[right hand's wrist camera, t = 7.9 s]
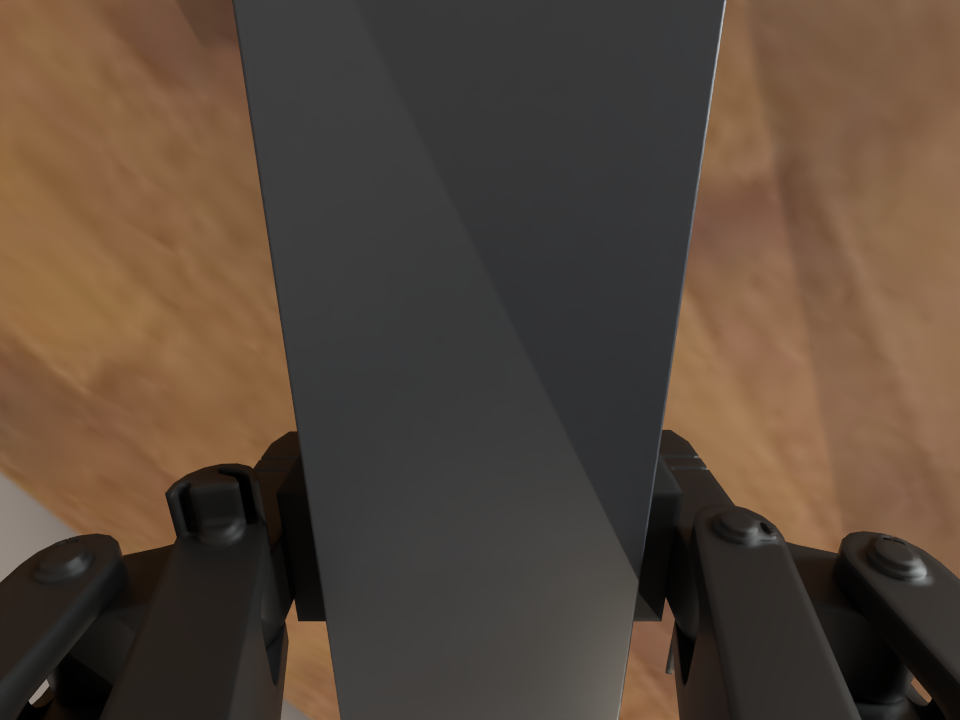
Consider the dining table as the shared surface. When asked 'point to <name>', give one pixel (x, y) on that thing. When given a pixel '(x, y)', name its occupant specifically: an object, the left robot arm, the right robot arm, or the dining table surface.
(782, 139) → the dining table surface
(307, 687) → the dining table surface
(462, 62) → the bar
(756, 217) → the dining table surface
